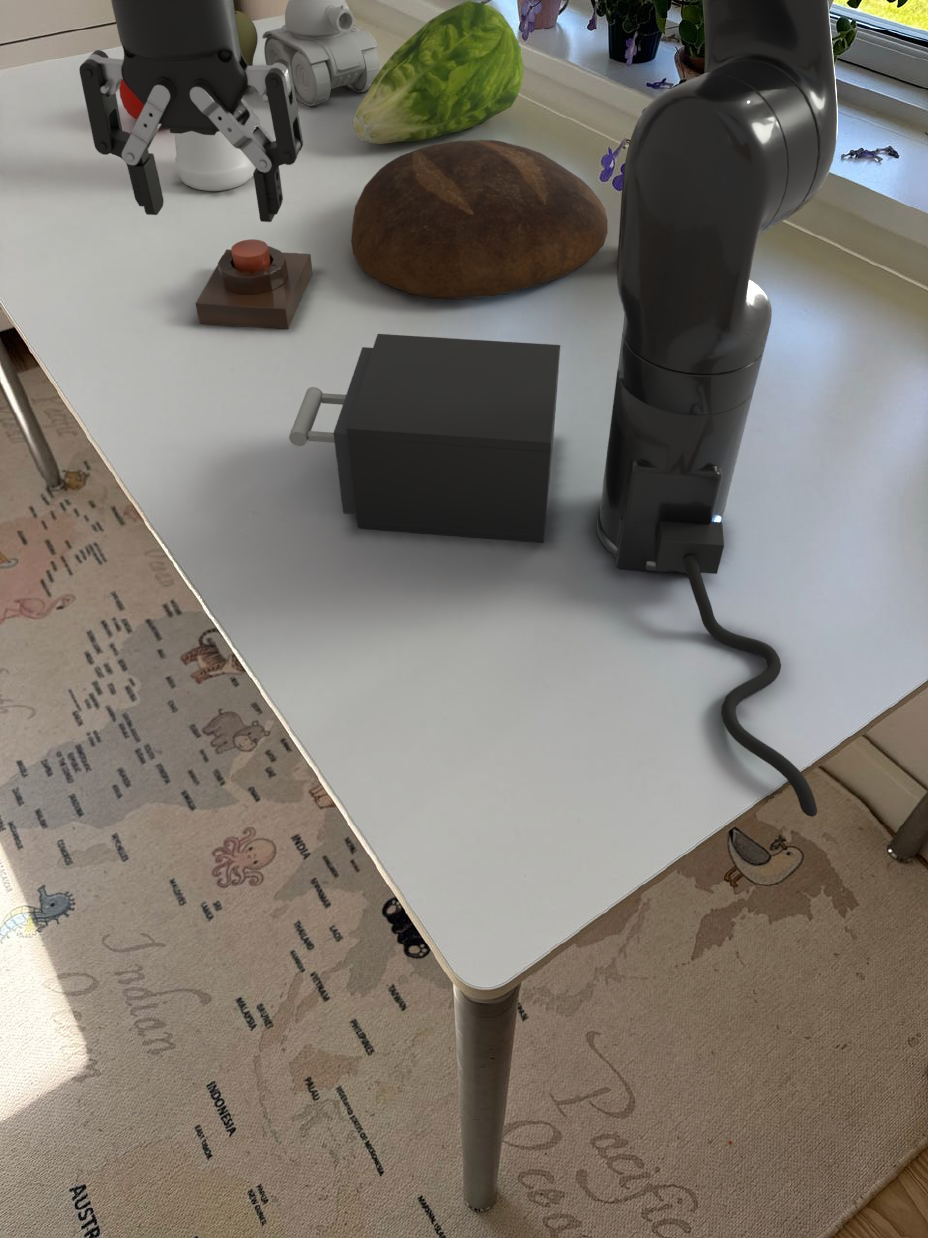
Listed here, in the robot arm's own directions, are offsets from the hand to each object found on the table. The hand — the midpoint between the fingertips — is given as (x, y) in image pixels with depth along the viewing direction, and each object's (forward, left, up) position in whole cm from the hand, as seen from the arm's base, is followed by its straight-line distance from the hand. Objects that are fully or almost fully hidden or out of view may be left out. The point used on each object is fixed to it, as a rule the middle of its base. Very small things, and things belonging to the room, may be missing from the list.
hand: (212, 213), depth 74 cm
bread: (+35, -16, -19) cm, 43 cm away
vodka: (+48, +17, -19) cm, 54 cm away
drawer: (-6, -15, -18) cm, 24 cm away
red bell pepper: (+64, +29, -19) cm, 73 cm away
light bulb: (+75, +21, -19) cm, 80 cm away
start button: (+21, +5, -15) cm, 26 cm away
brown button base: (+21, +5, -19) cm, 29 cm away
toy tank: (+77, +10, -19) cm, 80 cm away
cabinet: (-6, -19, -19) cm, 27 cm away
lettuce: (+64, -7, -19) cm, 67 cm away
